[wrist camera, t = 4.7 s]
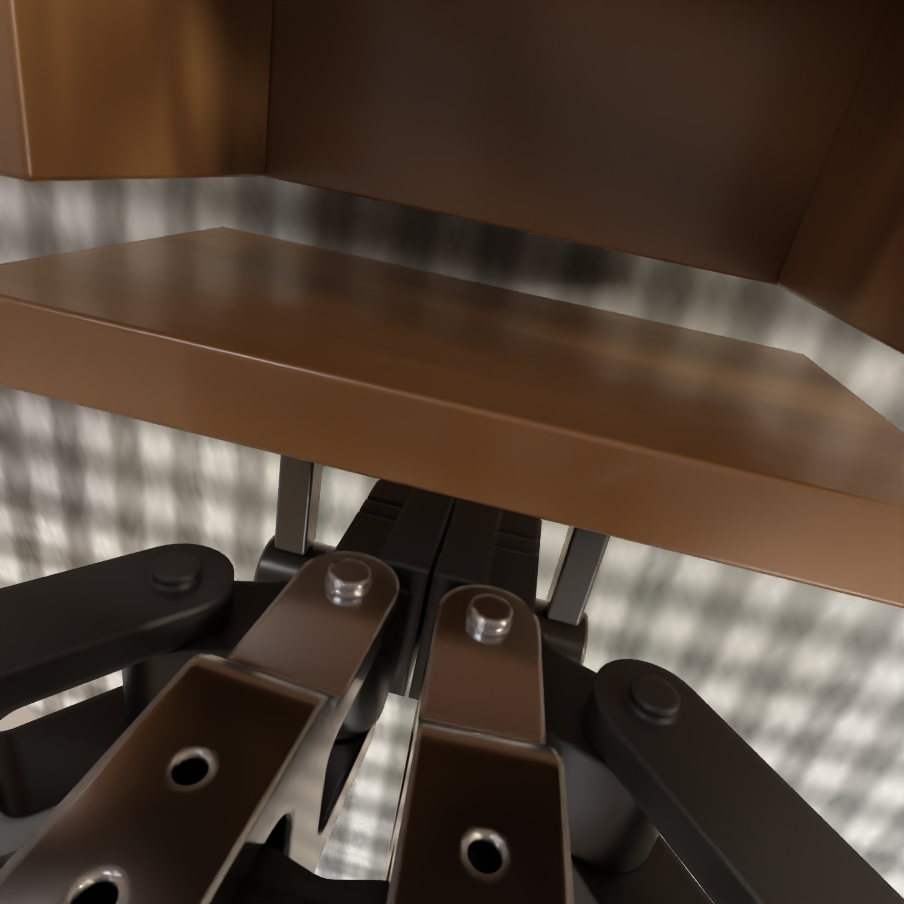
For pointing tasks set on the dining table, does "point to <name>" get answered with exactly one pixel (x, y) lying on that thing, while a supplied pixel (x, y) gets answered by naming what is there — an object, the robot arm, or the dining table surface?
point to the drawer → (479, 305)
